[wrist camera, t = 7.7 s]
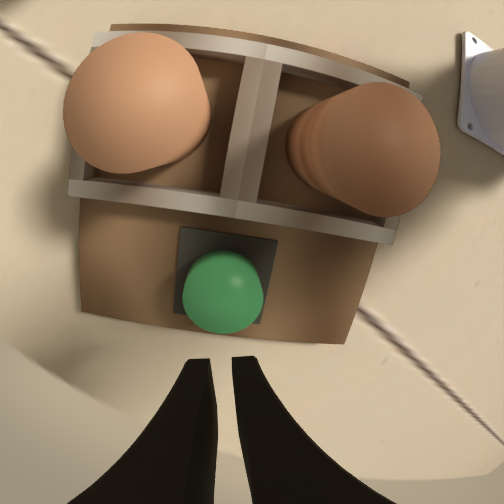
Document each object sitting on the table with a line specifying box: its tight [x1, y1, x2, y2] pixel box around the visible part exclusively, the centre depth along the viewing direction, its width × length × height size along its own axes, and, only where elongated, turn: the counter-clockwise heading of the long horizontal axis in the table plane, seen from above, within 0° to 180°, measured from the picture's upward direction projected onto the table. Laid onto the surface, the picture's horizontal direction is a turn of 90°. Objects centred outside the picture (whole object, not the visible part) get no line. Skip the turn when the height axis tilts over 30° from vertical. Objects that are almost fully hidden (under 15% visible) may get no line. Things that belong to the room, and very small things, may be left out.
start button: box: [182, 250, 263, 334], centre depth 14 cm, size 4×4×2 cm
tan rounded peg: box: [63, 32, 212, 174], centre depth 10 cm, size 4×4×6 cm
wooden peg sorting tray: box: [68, 24, 440, 344], centre depth 13 cm, size 16×16×8 cm
